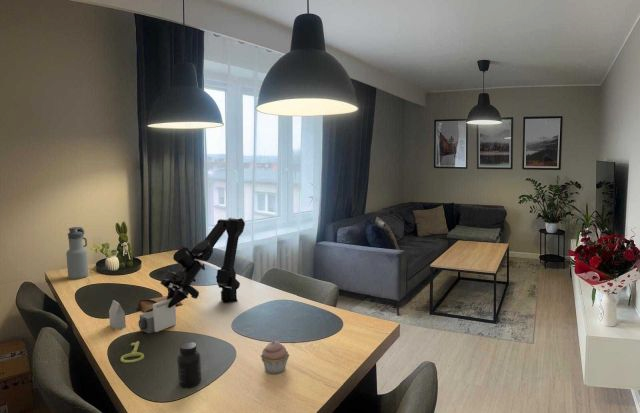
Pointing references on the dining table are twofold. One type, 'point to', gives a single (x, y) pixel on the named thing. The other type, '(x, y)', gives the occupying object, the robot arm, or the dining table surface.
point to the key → (133, 354)
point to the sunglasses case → (148, 303)
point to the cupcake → (274, 357)
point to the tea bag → (117, 316)
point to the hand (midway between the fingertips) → (167, 307)
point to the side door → (163, 315)
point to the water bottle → (77, 254)
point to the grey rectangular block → (146, 322)
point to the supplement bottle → (189, 366)
